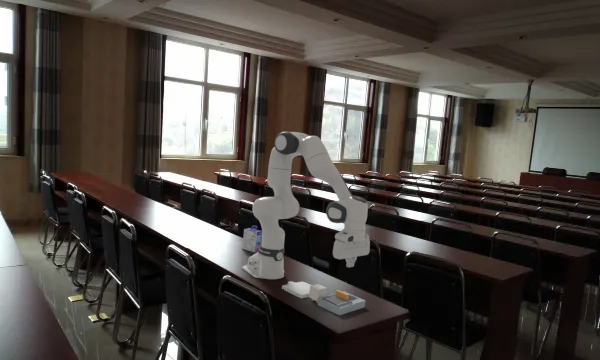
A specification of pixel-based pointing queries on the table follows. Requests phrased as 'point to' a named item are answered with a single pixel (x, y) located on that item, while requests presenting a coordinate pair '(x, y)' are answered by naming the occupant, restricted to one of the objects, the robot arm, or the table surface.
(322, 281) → the table surface
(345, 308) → the socket
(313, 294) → the white block
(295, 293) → the mounting plate
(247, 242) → the ink cartridge box
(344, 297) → the shutter
